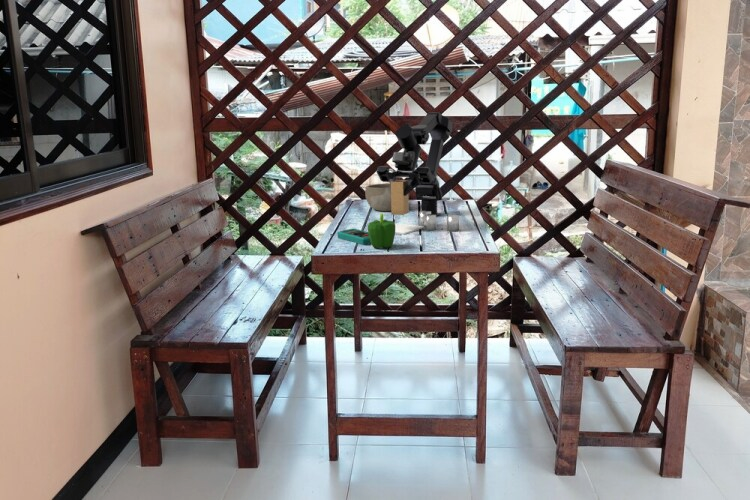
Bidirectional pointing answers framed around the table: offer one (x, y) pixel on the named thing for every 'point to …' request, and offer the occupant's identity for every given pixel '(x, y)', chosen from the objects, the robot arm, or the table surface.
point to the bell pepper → (381, 233)
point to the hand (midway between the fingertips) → (398, 194)
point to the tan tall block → (399, 198)
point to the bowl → (379, 196)
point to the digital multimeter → (355, 236)
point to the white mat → (406, 228)
